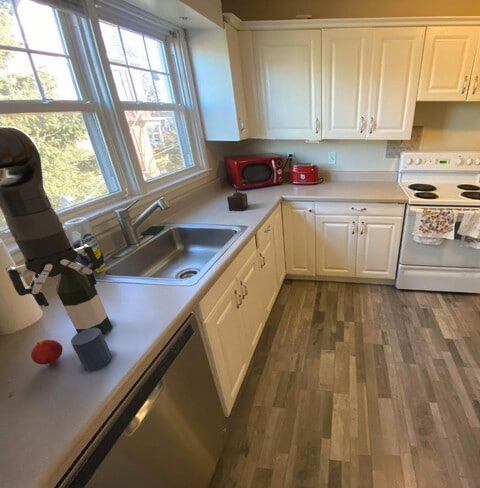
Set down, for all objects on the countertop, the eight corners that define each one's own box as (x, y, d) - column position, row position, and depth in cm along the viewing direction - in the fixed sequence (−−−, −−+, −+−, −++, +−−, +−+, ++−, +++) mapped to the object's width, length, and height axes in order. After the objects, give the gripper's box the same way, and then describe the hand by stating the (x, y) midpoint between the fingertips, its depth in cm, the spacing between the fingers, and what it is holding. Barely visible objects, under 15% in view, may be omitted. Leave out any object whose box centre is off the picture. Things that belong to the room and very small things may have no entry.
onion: (44, 357, 76) (31, 335, 73) (70, 351, 78) (58, 329, 75) (34, 374, 71) (19, 351, 68) (62, 367, 73) (49, 344, 70)
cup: (80, 373, 72) (66, 347, 68) (89, 355, 77) (76, 330, 73) (107, 366, 73) (95, 341, 69) (115, 350, 78) (103, 325, 75)
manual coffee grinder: (244, 211, 187) (241, 184, 179) (228, 210, 187) (224, 184, 179) (251, 204, 201) (248, 178, 193) (236, 203, 201) (233, 178, 193)
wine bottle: (74, 344, 81) (25, 251, 68) (83, 325, 87) (40, 238, 74) (109, 335, 84) (68, 245, 71) (115, 318, 91) (79, 233, 78)
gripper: (74, 217, 65) (99, 277, 72) (-16, 238, 54) (23, 305, 61) (87, 224, 61) (111, 286, 68) (-8, 248, 51) (33, 318, 58)
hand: (70, 295), depth 65 cm, fingers open, 8 cm apart
